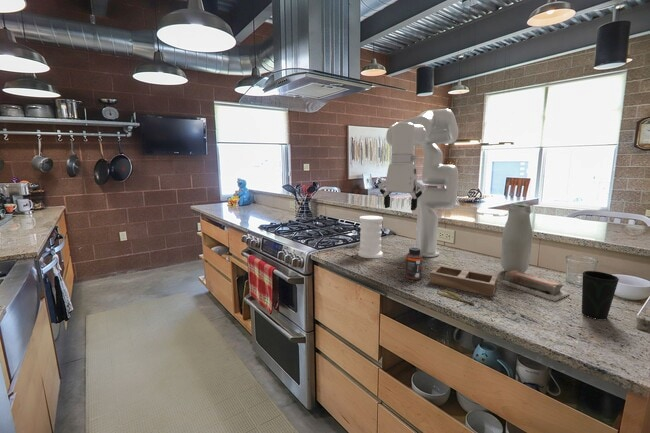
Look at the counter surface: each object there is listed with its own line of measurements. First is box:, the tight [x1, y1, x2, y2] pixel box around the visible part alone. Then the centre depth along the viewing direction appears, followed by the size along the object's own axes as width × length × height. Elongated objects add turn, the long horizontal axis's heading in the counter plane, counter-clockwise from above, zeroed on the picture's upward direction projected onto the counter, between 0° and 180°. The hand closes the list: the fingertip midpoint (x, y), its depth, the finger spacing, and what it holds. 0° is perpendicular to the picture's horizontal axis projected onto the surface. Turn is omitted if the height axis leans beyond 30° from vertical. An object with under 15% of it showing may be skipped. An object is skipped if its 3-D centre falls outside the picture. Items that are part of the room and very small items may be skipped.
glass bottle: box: [500, 202, 534, 273], centre depth 123 cm, size 10×10×28 cm
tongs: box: [436, 289, 475, 306], centre depth 102 cm, size 4×13×2 cm, turn 37°
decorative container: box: [357, 215, 384, 259], centre depth 148 cm, size 12×12×18 cm
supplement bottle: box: [404, 247, 423, 281], centre depth 119 cm, size 6×6×11 cm
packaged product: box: [500, 270, 571, 302], centre depth 109 cm, size 18×5×10 cm
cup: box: [581, 270, 620, 320], centre depth 90 cm, size 8×8×12 cm
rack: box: [428, 264, 498, 298], centre depth 113 cm, size 11×21×4 cm, turn 56°
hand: (399, 208), depth 112 cm, fingers open, 9 cm apart
